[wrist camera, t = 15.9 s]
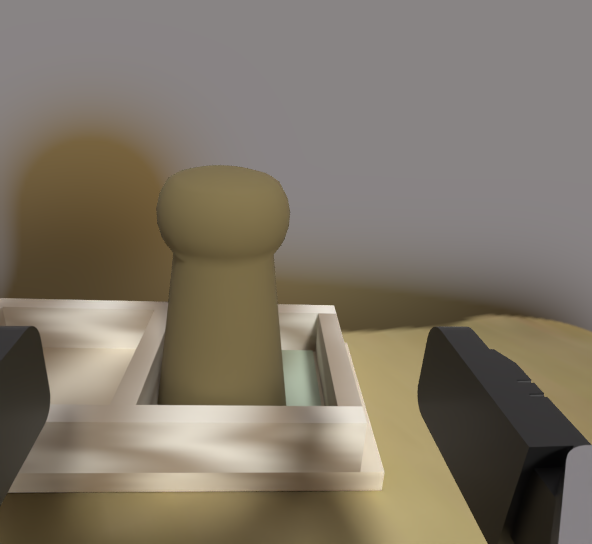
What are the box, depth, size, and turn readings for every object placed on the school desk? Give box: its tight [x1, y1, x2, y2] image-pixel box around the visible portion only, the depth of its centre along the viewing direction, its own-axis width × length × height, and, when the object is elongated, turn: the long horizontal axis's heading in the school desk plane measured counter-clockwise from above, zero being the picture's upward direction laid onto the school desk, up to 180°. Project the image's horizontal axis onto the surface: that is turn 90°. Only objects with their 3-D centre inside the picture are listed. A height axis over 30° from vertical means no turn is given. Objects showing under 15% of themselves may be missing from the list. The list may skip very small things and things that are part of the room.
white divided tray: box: [0, 298, 384, 493], centre depth 23 cm, size 21×10×4 cm, turn 93°
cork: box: [156, 165, 290, 406], centre depth 20 cm, size 6×6×11 cm
